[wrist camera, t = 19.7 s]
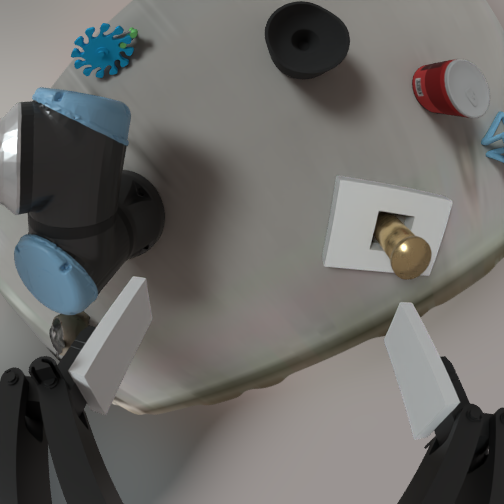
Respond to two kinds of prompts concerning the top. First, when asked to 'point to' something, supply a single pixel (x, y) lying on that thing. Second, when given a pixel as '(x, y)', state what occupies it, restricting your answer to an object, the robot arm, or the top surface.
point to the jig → (365, 216)
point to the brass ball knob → (402, 246)
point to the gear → (104, 49)
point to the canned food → (452, 88)
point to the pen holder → (306, 39)
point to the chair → (494, 139)
